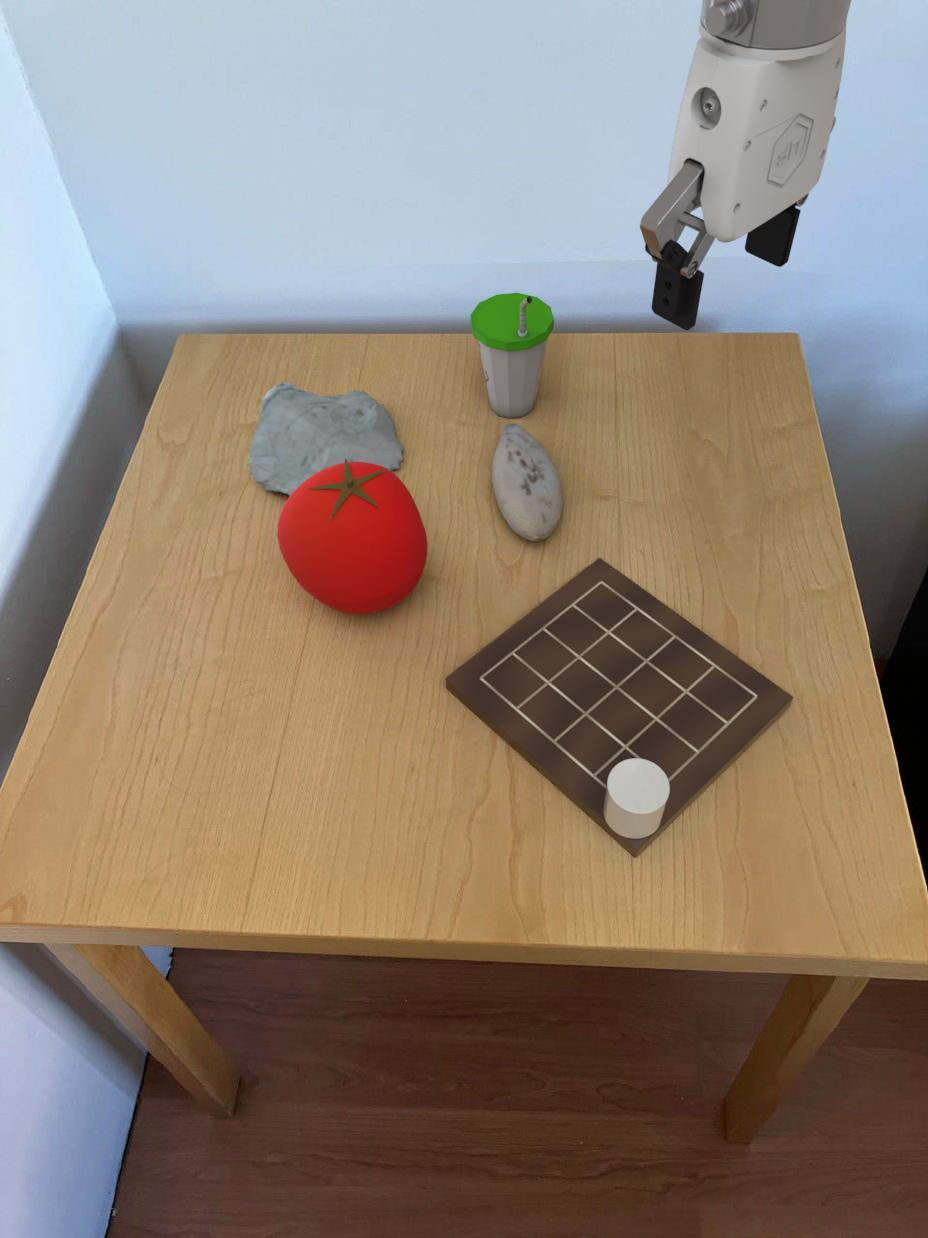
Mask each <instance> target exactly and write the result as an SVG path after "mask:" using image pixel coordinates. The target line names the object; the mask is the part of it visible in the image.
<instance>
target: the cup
mask: <svg viewBox="0 0 928 1238" xmlns="http://www.w3.org/2000/svg"><path fill="white" fill-rule="evenodd" d="M552 311H553V310H552V308H551V306H550V305H549V304H547V303H546V302H545V301H543V300H542V299H540V298H539V297H538V296H534V295H529V294H525V293H520V292H510V293H500V294H495V295H492V296H490V297H489V298H486V299H484V300H482V301H480V302H478V303H477V305H476V307H475V308H474V309H473V310H472V312H471V314H470V327H471V331H472V336H473V337H474V338H475V339H476V340H477V342H478V347H479V353H480V358H481V363H482V368H483V373H484V379H485V384H486V391H487V394H488V399H489V406H490V410H491V411H492V412H493V413H494V414H496V415H497V416H498V417H502V418H506V419H510V420H511V419H518V418H522V417H525V416H526V415H529V414H531V412H532V410H533V409H534V407H535V405H536V400H537V395H538V391H539V390H538V389H539V385H540V380H541V375H542V374H541V373H542V368H543V364H544V359H545V358H544V357H545V353H546V348H547V344H548V338H549V336H550V334H551V333H552V331H553V330H554V326H555V319H554V314H553V312H552Z"/></svg>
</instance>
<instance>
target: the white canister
mask: <svg viewBox="0 0 928 1238" xmlns="http://www.w3.org/2000/svg"><path fill="white" fill-rule="evenodd" d="M669 793H670V785H669V781H668V778H667V776H666V774H665V773H664V771H663V770H662V769H661V768H660V767H659V766H657V765H656V764H655V763H653V762H651V761H648V760H645V759H640V758H632V759H627V760H624V761H622V762H620V763H618V764H617V765H616V766H615V767H614V768H613V769H612V770H611V772H610V774H609V776H608V780H607V786H606V793H605V799H604V805H603V814H604V818H605V820H606V822H607V824H608V825H609V826H610V828H611V829H612V830H613V831H615V832H616V833H618V834H619V835H621V836H624V837H627V838H632V839H639V838H644V837H647V836H649V835H651V834H653V833H654V832H655V831H656V830H657V829H658V828H659V826H660V824H661V822H662V819H663V815H664V811H665V808H666V804H667V801H668V797H669Z"/></svg>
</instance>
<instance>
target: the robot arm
mask: <svg viewBox="0 0 928 1238" xmlns="http://www.w3.org/2000/svg"><path fill="white" fill-rule="evenodd" d="M851 2H852V0H702V4H701V10H700V16H699V17H700V18H699V25H698V33H699V36H700V38H699V39H698V40H697V42H696V45H695V48H694V52H693V55H692V59H691V63H690V66H689V70H688V74H687V77H686V82H685V86H684V90H683V93H682V98H681V103H680V107H679V111H678V116H677V121H676V126H675V131H674V137H673V142H672V147H671V153H670V160H669V166H668V175H667V182H666V187H665V188H664V189H663V191H662V192H661V193H660V194H659V196H657V198H656V199H655V200H654V202H653V203H652V204H651V205H650V206H649V208H648V209H647V211H645V212H644V214H643V215H642V217H641V219H640V222H639V228H640V232H641V234H642V237H643V238H642V239H643V241H644V243H645V244H644V251H645V253H647V254H648V256H650V257H651V260H652V261H653V262H655V263H656V269H655V270H656V271H655V276H654V286H653V294H652V300H651V301H652V302H651V311H652V312H653V313H654V315H656V316H658V317H659V318H662V319H663V320H665V321H667V322H669V323H671V324H673V325H675V326H677V327H679V328H680V329H682V330H684V331H689V330H691V329H692V328H694V327H695V326H696V323H697V318H698V312H699V311H698V310H699V306H700V305H699V304H700V301H701V296H702V289H703V283H704V277H705V272H703V271H702V270H700V267H701V265H702V263H703V261H704V259H705V257H707V254H708V252H709V251H710V249H711V247H712V245H713V243H714V242H715V240H717V242H721V243H724V244H726V243H730V242H733V241H736V240H738V239H740V238H742V237H743V236H745V235H746V239H745V244H744V250H745V252H746V253H748V254H749V255H751V256H754V257H756V258H758V259H761V260H763V261H765V262H767V263H769V264H771V265H773V266H775V267H777V268H781V267H783V266H784V265H786V264H787V263H788V262H789V259H790V255H791V251H792V248H793V242H794V239H795V235H796V231H797V228H798V222H799V219H800V216H801V211H802V209H799V208H801V207H802V206H803V205H805V203H806V201H807V200H808V197H809V195H810V192H811V191H812V190H813V189H814V188H815V187H816V186H817V184H818V182H819V181H820V178H821V175H822V171H823V167H824V164H825V160H826V155H827V151H828V146H829V144H830V143H829V142H830V138H831V134H832V132H833V130H834V127H835V125H836V122H837V117H836V116H835V114H836V109H837V105H838V98H839V92H840V87H841V81H842V75H843V68H844V62H845V61H844V60H845V52H846V42H847V22H848V21H847V19H848V15H849V11H850V8H851V7H850V6H851V4H852V3H851ZM797 207H798V208H797ZM698 208H701V212H702V218H703V219H702V218H700V217H698V216H696V215H694V214H692V213H691V212H693V211H695V210H697V209H698ZM686 227H688V228H690V229H692V230H694V231H696V232H698V233H697V235H696V237H695V239H694V241H693V243H692V245H691V246H690V248H689V250H688V251H687V250H686V249H685V248H684V247H683V246H682V245H681V244H680V243H679V242H678V241H679V239H680V237H681V235H682V233H683V232H684V230H685V228H686Z"/></svg>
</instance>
